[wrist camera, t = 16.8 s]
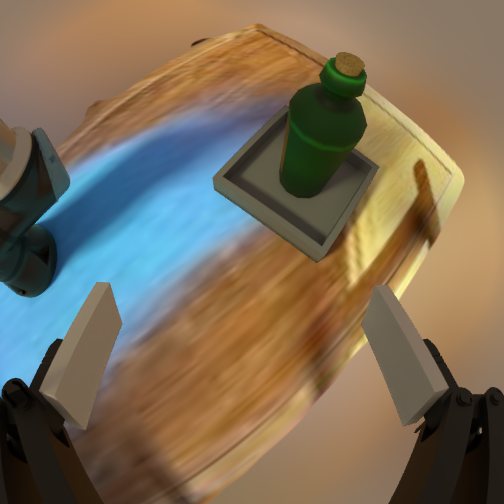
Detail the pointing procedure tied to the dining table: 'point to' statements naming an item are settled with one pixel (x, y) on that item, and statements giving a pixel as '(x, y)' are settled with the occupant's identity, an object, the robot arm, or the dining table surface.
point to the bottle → (323, 126)
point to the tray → (283, 203)
